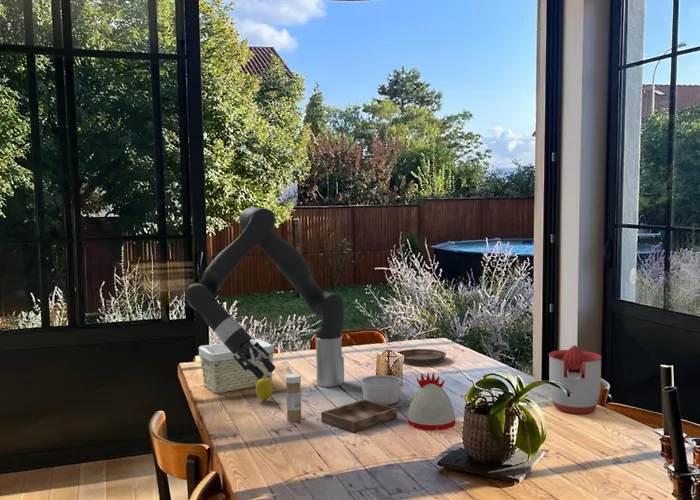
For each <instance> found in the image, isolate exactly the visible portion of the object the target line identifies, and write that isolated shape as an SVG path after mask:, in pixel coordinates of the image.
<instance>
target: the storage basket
mask: <svg viewBox="0 0 700 500" xmlns="http://www.w3.org/2000/svg"><path fill="white" fill-rule="evenodd" d="M256 342H258V343H259V344H260V345H261V346H262V347H263V348H264V349H265V351H266V352H267V353H268V354H269V355H270V356H269V357H268V359H269V360H270V362H271V363H272V364H273V360H274V359H273V358H274V351H275V350H274V346H273V344H270V343H269V342H266V341H264V340H261V339H259V338H255V339H251V340H250V343H251V344H253V345H254V344H255V343H256ZM263 354H264V353H263ZM234 355H235V354H233V353H232V352H231V351H230V350H229V349H228V348H227V347H226V346H225V344H224V343H223V342H221V343H215V344H206V345H204V344H203V345H200V346H198V356H199V357H200V362H201V370H202V371H201V372H202V377H203V379H202V380H203V385H204V387H206V388H208V389H209V390H210V391H212V393H215V394H224V393H228V392H235V391H240V390H244V389H251V388H256V384H257V382H258V381H259V380H260V379H258V378H257V377H256V376H255V375H254V374H253V372H252V371H249V370H247V371H245V370H244V369H243V368H242V367H241V365H240V364H239V363H238V362H237V361H236V359H235V358H234V357H233V356H234ZM260 359H261V358H260ZM254 362H255V364H256V365H257V366H258V367H259V369H260V370H261V371H262V372H263V373H264V376H263V377H265V378H267V379H268V380H270V382H271V384H273V372H269V370H268V369H267V368H266V367H265V366H264V365H263V363H261V362H259V361H254ZM243 364H244V362H243ZM244 365H245V364H244ZM245 366H246V365H245ZM263 377H262V378H263ZM262 378H261V379H262Z"/></svg>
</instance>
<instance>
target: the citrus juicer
mask: <svg viewBox="0 0 700 500" xmlns="http://www.w3.org/2000/svg"><path fill="white" fill-rule="evenodd" d="M548 356H549V358H548V359H549V361H548V363H549V369H548V371H549V374H548V375H549V377H548V378H549V379H548V381H555V382H560V383H562V384H564V385H565V386H567V387H568V389H569V390H570V392H571V394H570V396H569V397H568V396H567V394H566V393H565V392H564V391H562V390H561V389H559V388H557V387H555V386H552V385H550V384H549V389H550V395H551V398H552V402H553V405H554V407H555V409H557V410H558V411H560V412H563V413H568V414H569V413H571V414H584V415H588V414H589V413H592V412H594V411H595V409H596V408H597V404H598V401H599V398H600V394H601V387H602V386H601V384H602V382H601V381H602V380H601V379H602V371H601V370H602V369H601V368H602V358H603V357H602V355H601V354H599V353H596V352H594V351H593V352H592V351H587V350H581V349H580V348H579V347H578V346H577V345H575V344H574V345H572V346H571V347H569V349H560V350H558V349H557V350H553V351H550V352H549V353H548Z"/></svg>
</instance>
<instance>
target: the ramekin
mask: <svg viewBox="0 0 700 500" xmlns="http://www.w3.org/2000/svg"><path fill="white" fill-rule="evenodd" d="M360 383H361V387H362V389H361V390H362V396H363V399H365V400H369V401H372V402H376V403H379V404H383V405H386V406H389V405H388V404H390V405H394V404H396V403H397V402H398V401H399V399H400V395H401V394H400V393H401V386H402V380H401V378H399V377H396V376H393V375H387V374H386V375H383V374H380V375H379V374H377V375H376V374H375V375H369V376H366V377H363V378H362V379H361V381H360ZM393 403H394V404H393Z"/></svg>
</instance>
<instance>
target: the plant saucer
mask: <svg viewBox="0 0 700 500" xmlns="http://www.w3.org/2000/svg"><path fill="white" fill-rule="evenodd" d="M396 353H400V354H402V355H404V364H407V365H411V364H412V366H431V365H436V364H439V363H441V362H443V360H444V359H445V357H446V356H447V353H446V351H442V350H439V349H430V348H413V349H412V348H411V349H403V350H400V351H397V352H396Z"/></svg>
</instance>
